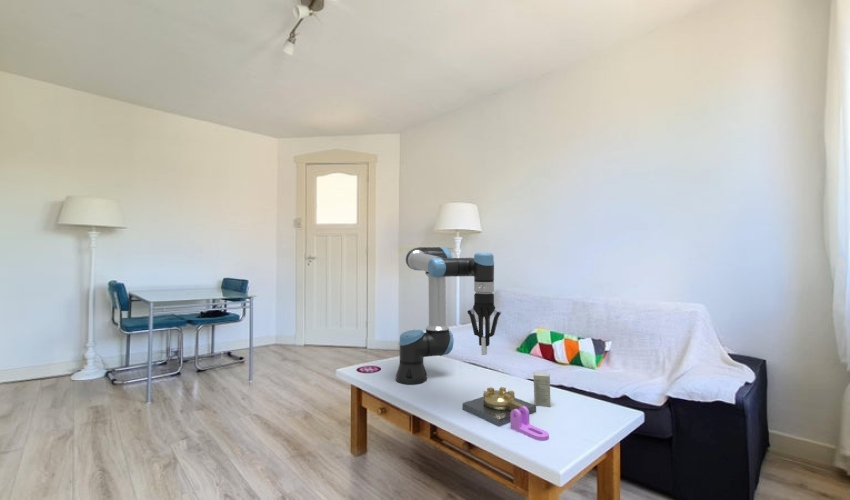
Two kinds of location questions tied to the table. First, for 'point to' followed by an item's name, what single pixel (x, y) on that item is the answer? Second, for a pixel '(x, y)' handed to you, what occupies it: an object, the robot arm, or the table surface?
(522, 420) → the bracket
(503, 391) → the brass notched disc handle
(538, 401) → the skincare box
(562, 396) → the table surface
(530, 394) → the table surface
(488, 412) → the base plate
